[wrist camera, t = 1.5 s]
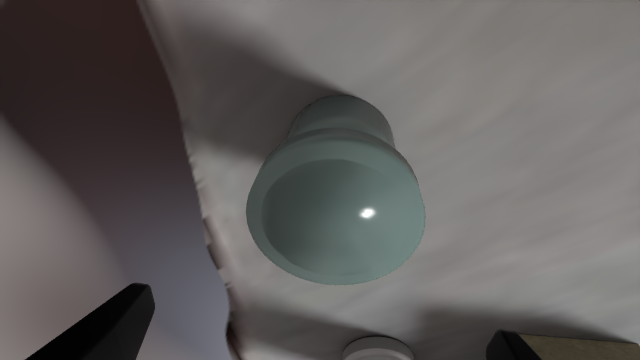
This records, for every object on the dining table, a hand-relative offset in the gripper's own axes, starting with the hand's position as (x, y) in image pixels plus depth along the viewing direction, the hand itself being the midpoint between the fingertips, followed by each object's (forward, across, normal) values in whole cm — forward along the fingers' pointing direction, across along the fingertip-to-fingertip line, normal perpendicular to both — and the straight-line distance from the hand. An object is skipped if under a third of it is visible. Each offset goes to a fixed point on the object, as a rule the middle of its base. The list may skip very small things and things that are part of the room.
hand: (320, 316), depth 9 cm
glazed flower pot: (+12, 0, +1) cm, 12 cm away
